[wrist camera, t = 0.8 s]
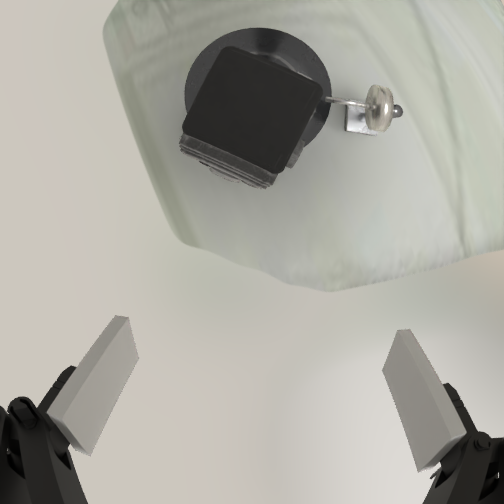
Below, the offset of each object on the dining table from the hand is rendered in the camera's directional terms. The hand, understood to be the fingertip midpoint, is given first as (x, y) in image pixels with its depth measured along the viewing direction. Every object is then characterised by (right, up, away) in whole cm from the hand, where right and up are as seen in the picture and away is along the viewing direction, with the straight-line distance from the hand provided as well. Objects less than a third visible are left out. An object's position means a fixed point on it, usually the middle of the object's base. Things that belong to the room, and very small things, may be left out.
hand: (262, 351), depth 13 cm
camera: (0, +19, +19) cm, 27 cm away
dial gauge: (+11, +21, +18) cm, 30 cm away
